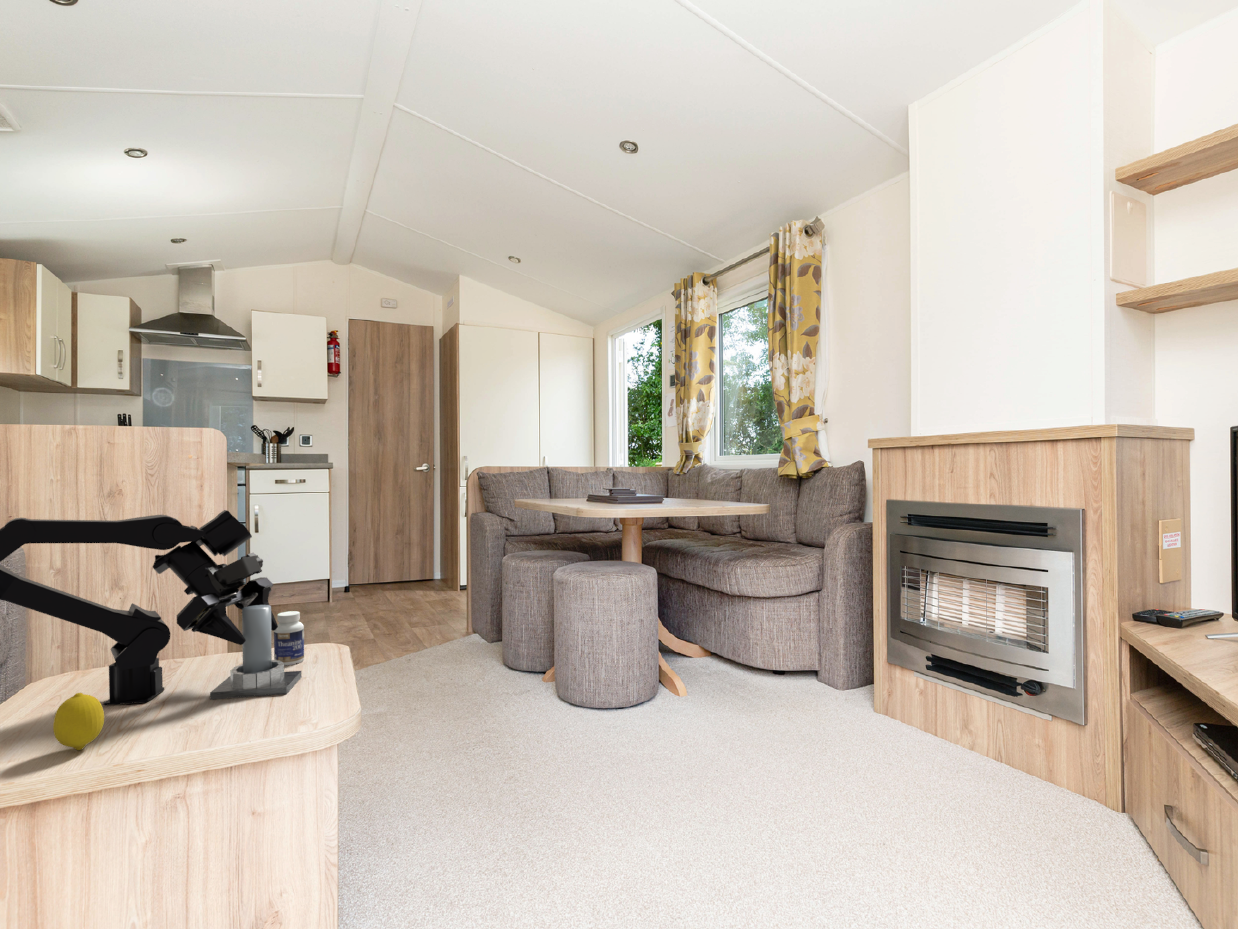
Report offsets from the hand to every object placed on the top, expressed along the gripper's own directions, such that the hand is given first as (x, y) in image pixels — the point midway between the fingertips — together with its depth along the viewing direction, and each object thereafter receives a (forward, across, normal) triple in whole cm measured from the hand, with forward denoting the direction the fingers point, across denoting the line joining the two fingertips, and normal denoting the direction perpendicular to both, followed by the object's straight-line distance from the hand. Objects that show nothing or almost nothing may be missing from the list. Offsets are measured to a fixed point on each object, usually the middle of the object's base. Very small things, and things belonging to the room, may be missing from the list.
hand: (260, 635), depth 118 cm
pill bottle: (+4, +15, +9) cm, 18 cm away
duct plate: (+6, 0, +7) cm, 9 cm away
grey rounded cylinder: (+5, 0, +6) cm, 8 cm away
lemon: (0, -25, +14) cm, 29 cm away
